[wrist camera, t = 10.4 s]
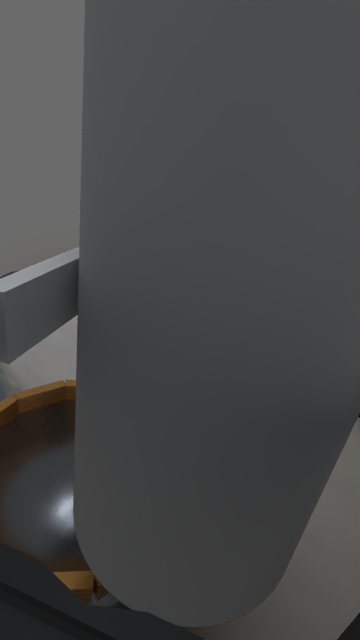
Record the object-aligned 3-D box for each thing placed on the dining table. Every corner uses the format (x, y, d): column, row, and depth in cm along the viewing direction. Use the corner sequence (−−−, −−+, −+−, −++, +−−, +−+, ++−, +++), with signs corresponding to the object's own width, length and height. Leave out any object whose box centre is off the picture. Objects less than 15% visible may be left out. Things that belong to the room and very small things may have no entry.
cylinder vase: (21, 577, 16) (-57, -352, 5) (125, 410, 27) (166, 6, 16) (293, 686, 14) (1043, -461, 3) (284, 457, 25) (446, 31, 14)
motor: (190, 437, 45) (204, 385, 41) (227, 644, 27) (258, 588, 23) (-4, 431, 41) (-10, 372, 37) (-114, 673, 23) (-152, 611, 19)
